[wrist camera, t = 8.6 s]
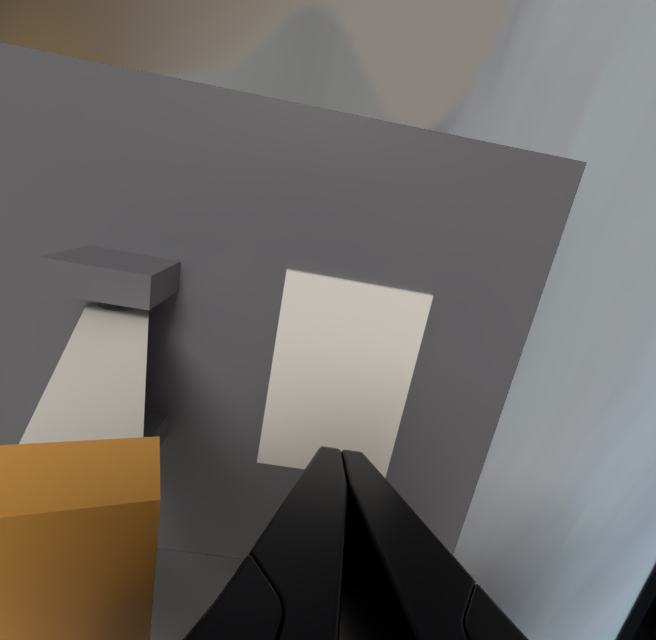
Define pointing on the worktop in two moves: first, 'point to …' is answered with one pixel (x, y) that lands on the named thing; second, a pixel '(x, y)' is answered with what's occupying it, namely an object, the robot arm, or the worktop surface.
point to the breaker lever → (84, 493)
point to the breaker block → (271, 282)
